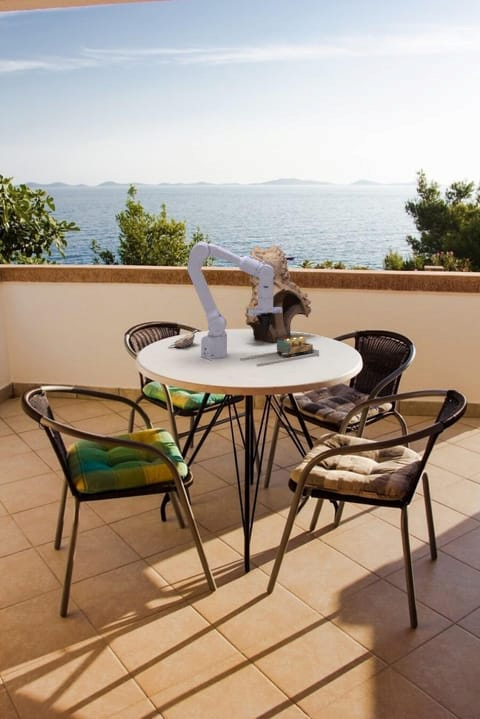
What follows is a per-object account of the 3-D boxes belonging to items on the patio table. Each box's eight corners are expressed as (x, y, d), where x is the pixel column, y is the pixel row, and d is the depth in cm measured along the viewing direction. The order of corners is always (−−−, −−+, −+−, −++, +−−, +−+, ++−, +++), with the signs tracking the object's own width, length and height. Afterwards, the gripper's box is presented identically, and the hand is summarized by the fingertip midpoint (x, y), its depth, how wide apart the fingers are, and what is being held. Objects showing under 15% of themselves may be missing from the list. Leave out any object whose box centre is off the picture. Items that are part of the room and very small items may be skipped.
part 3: (301, 348, 254) (301, 337, 253) (296, 346, 257) (296, 336, 256) (307, 347, 256) (307, 337, 255) (302, 345, 258) (302, 335, 257)
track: (258, 368, 238) (258, 360, 237) (239, 361, 248) (239, 353, 247) (318, 357, 254) (318, 349, 254) (298, 351, 264) (298, 344, 263)
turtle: (190, 358, 266) (198, 335, 264) (167, 350, 264) (176, 327, 262) (190, 348, 281) (198, 326, 279) (168, 340, 279) (176, 319, 277)
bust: (287, 330, 304) (289, 242, 294) (315, 337, 291) (318, 244, 281) (229, 340, 282) (229, 245, 272) (256, 348, 269) (257, 248, 259)
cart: (289, 359, 248) (290, 344, 247) (275, 355, 255) (275, 339, 254) (313, 355, 255) (314, 340, 254) (299, 350, 262) (299, 336, 260)
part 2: (294, 349, 252) (294, 339, 251) (289, 347, 255) (289, 337, 254) (300, 348, 254) (300, 338, 253) (295, 346, 256) (295, 336, 255)
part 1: (287, 350, 250) (287, 340, 250) (282, 348, 253) (282, 338, 252) (293, 349, 252) (294, 339, 251) (288, 347, 255) (288, 337, 254)
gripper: (256, 300, 240) (255, 337, 243) (287, 297, 248) (286, 332, 251) (245, 297, 246) (244, 333, 249) (276, 294, 254) (275, 329, 257)
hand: (264, 333), depth 251 cm, fingers closed
